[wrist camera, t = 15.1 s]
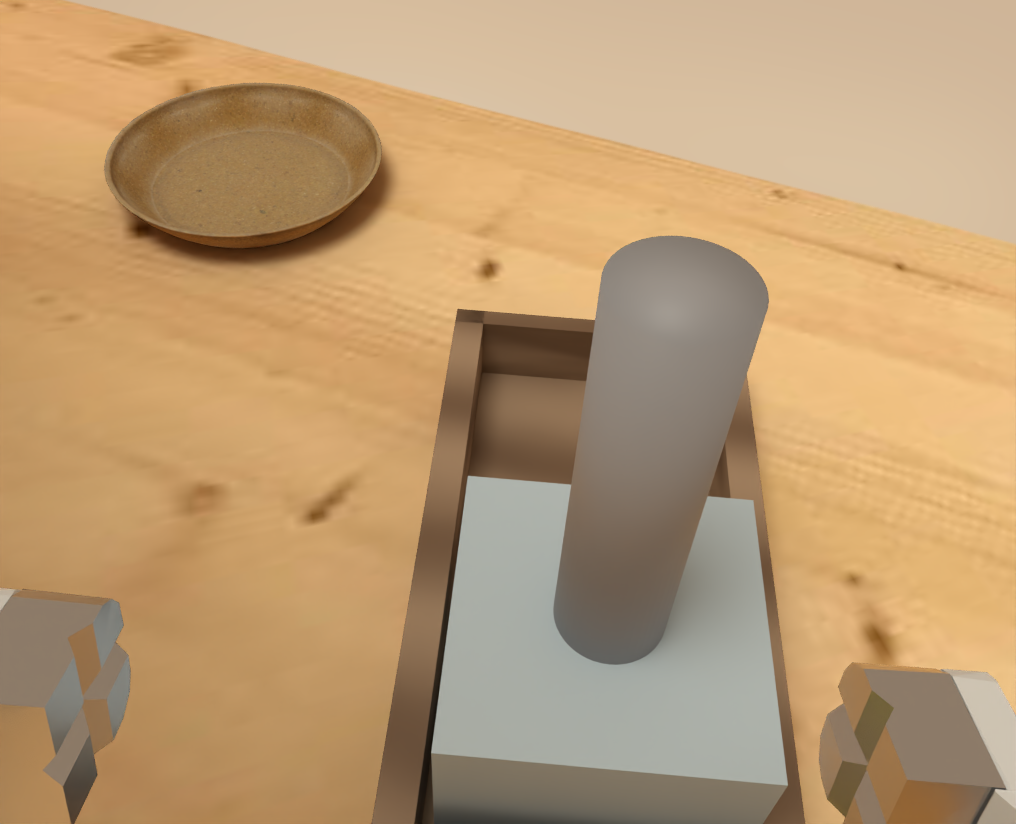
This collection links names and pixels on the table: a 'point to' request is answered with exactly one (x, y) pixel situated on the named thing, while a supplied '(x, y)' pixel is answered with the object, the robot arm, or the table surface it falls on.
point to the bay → (528, 457)
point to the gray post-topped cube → (622, 584)
